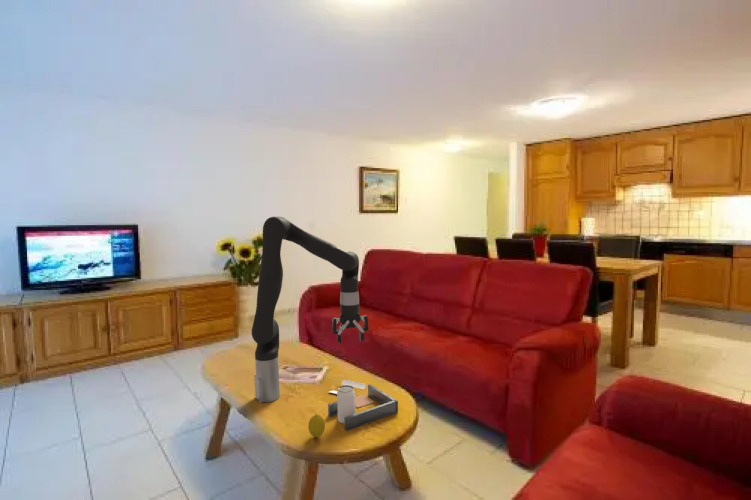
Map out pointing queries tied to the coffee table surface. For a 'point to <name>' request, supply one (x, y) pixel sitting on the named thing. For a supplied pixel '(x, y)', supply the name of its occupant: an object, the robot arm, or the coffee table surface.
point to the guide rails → (371, 414)
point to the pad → (362, 401)
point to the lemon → (316, 425)
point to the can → (345, 402)
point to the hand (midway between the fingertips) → (350, 342)
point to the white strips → (351, 383)
